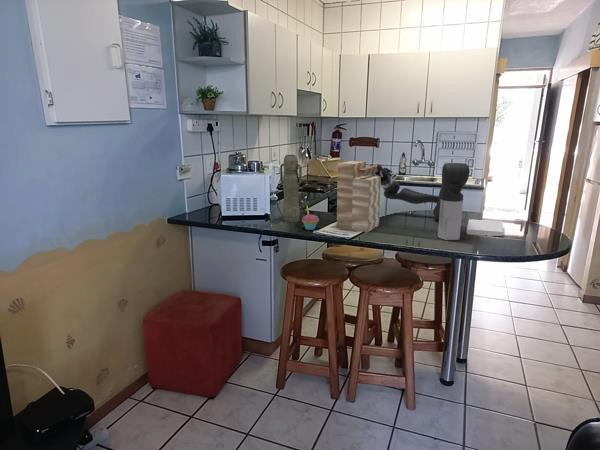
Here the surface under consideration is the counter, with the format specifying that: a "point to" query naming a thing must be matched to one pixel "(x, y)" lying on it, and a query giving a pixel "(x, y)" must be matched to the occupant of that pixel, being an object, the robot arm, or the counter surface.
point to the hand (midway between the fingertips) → (374, 165)
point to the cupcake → (310, 221)
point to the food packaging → (485, 228)
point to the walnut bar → (368, 170)
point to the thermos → (291, 188)
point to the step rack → (357, 198)
